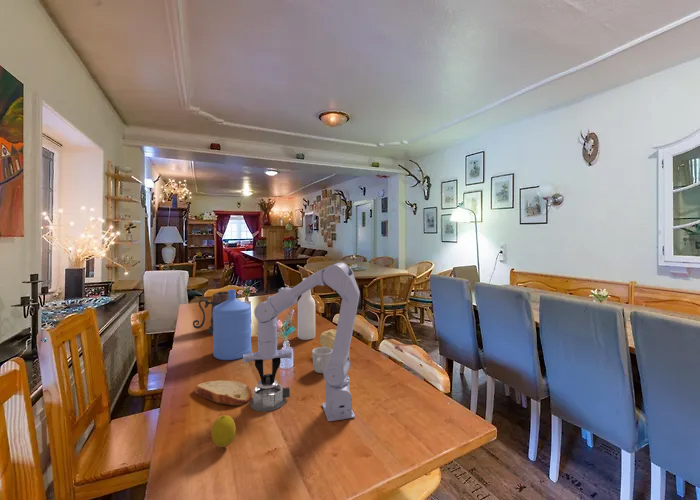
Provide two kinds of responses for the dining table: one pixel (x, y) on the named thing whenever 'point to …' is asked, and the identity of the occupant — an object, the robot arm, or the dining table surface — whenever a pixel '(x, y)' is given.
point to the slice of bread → (225, 392)
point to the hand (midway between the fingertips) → (267, 382)
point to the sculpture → (328, 338)
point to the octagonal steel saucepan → (270, 397)
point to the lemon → (223, 431)
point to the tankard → (216, 300)
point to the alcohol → (306, 316)
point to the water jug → (232, 328)
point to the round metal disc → (266, 408)
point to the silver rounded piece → (268, 385)
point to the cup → (321, 358)
